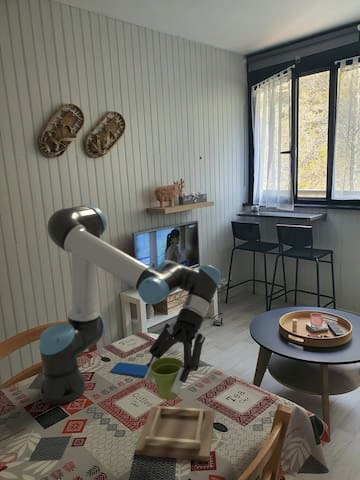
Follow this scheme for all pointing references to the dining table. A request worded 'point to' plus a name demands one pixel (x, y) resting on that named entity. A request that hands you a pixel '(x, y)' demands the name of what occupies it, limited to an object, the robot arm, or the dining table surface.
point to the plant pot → (166, 375)
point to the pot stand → (177, 433)
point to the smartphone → (130, 369)
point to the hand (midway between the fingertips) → (160, 386)
